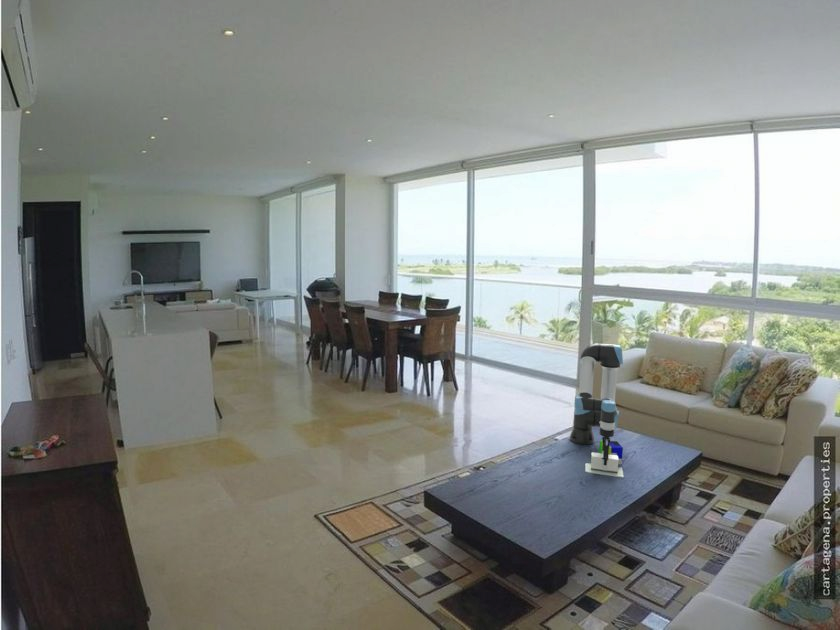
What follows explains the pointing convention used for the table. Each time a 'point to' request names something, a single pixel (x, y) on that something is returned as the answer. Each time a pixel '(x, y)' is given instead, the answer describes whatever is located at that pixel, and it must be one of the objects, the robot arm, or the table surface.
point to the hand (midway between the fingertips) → (604, 466)
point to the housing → (597, 462)
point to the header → (603, 471)
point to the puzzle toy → (614, 450)
